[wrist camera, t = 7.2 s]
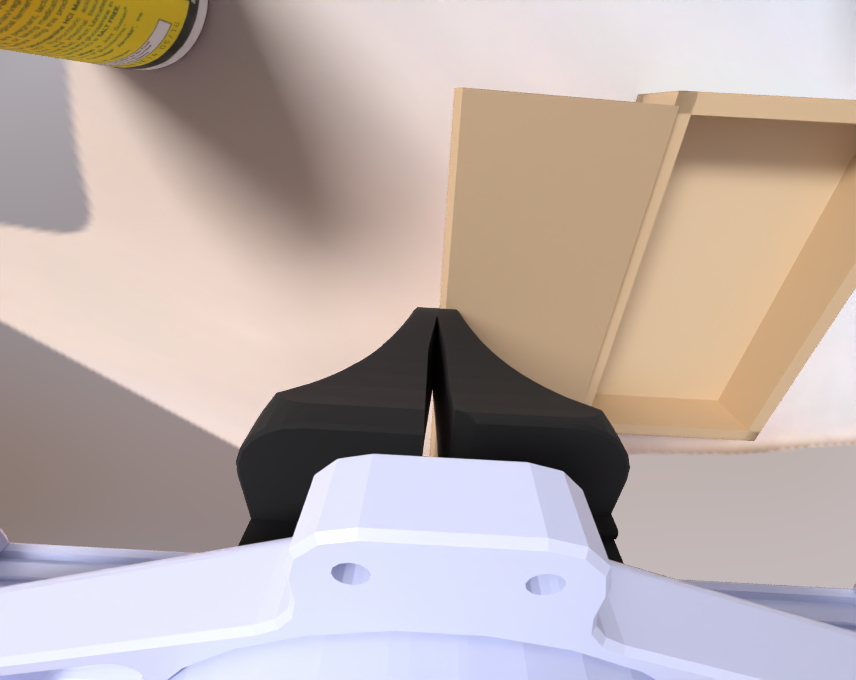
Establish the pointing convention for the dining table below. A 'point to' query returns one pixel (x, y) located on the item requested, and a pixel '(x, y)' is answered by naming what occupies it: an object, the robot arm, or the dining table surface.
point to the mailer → (731, 265)
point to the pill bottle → (103, 30)
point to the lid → (545, 223)
